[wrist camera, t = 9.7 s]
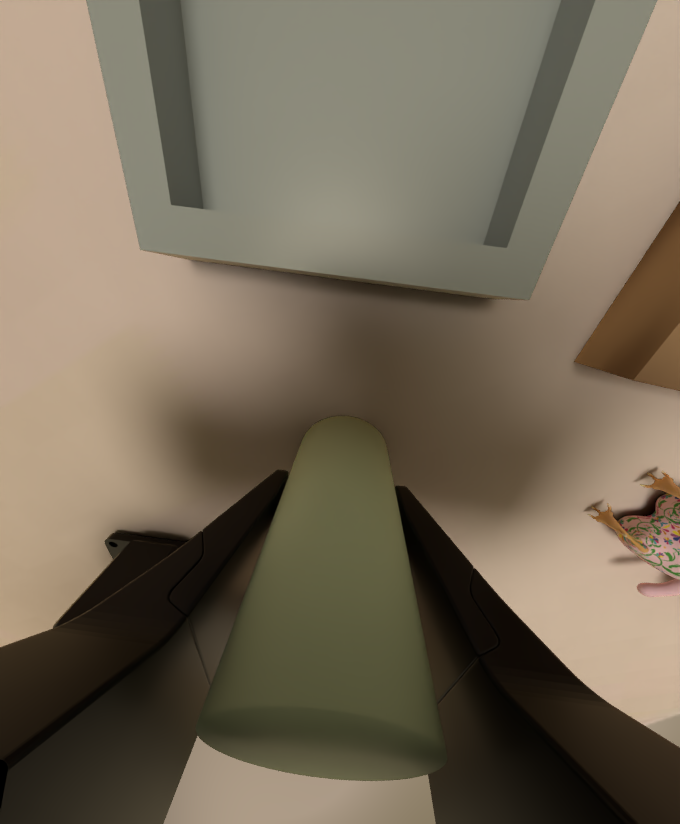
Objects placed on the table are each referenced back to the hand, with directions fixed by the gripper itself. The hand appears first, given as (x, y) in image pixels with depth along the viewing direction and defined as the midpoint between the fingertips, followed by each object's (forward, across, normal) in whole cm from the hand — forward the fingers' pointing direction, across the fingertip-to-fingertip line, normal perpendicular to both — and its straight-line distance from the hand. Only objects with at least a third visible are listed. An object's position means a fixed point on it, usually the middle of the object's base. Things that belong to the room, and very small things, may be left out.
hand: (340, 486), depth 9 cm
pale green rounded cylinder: (+2, 0, 0) cm, 2 cm away
